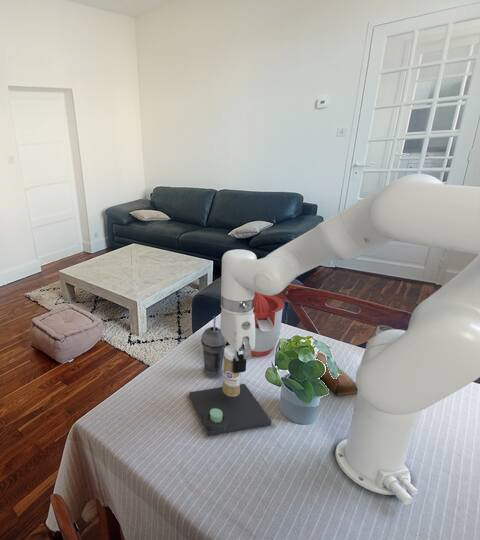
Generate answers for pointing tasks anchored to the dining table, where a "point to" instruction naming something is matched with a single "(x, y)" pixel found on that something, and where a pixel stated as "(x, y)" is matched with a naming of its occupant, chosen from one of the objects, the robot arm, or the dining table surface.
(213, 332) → the beverage cup
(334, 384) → the brown leather shoe
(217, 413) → the tare button
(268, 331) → the citrus juicer
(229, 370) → the sprinkles bottle
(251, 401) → the scale
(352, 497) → the dining table surface
